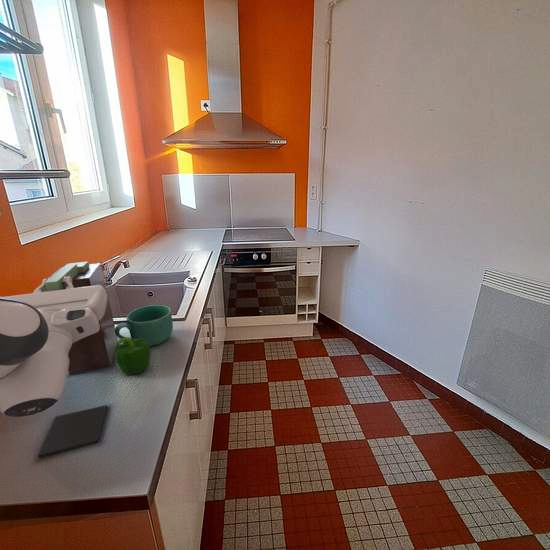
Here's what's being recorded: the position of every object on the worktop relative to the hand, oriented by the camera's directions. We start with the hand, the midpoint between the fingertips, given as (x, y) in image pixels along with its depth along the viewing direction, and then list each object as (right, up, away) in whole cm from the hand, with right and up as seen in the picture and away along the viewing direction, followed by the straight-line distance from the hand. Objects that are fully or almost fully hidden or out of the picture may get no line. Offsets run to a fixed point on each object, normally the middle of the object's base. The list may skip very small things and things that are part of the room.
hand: (58, 279), depth 69 cm
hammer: (-2, 0, +5) cm, 6 cm away
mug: (+10, -20, +26) cm, 34 cm away
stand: (-3, -23, +19) cm, 30 cm away
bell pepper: (+12, -25, +13) cm, 30 cm away
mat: (+8, -31, -6) cm, 33 cm away
